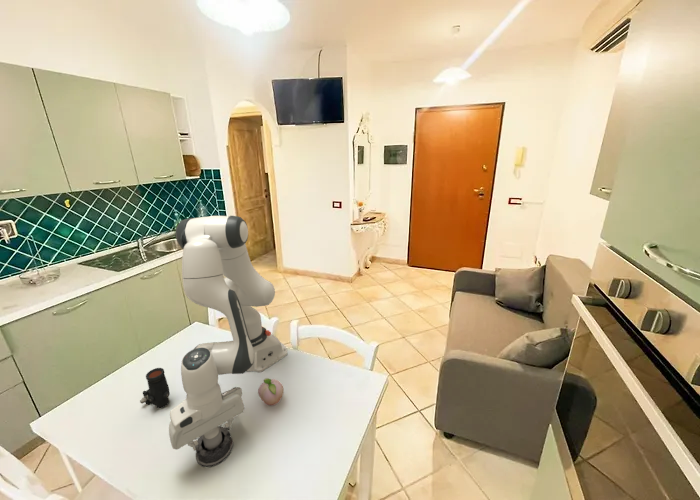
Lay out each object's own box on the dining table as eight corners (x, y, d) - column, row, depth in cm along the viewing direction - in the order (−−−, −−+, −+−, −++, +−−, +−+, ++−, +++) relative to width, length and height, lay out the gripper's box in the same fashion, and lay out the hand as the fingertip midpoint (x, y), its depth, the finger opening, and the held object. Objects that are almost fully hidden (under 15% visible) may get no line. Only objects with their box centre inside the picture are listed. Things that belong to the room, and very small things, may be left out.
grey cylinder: (220, 437, 94) (217, 421, 92) (225, 448, 90) (222, 432, 88) (203, 446, 91) (200, 431, 89) (208, 459, 87) (205, 443, 85)
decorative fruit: (289, 402, 108) (287, 380, 105) (270, 416, 102) (267, 393, 99) (275, 389, 114) (273, 368, 111) (256, 402, 108) (253, 379, 105)
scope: (153, 361, 109) (173, 367, 106) (161, 391, 113) (180, 398, 110) (131, 376, 102) (152, 383, 98) (140, 407, 106) (160, 415, 103)
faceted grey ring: (226, 428, 98) (224, 419, 96) (238, 451, 90) (236, 441, 89) (192, 448, 91) (189, 438, 90) (202, 474, 84) (199, 464, 82)
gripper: (237, 378, 94) (242, 412, 98) (163, 414, 81) (172, 451, 85) (245, 390, 89) (250, 425, 93) (168, 430, 76) (178, 468, 81)
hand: (212, 438), depth 89 cm, fingers open, 8 cm apart
